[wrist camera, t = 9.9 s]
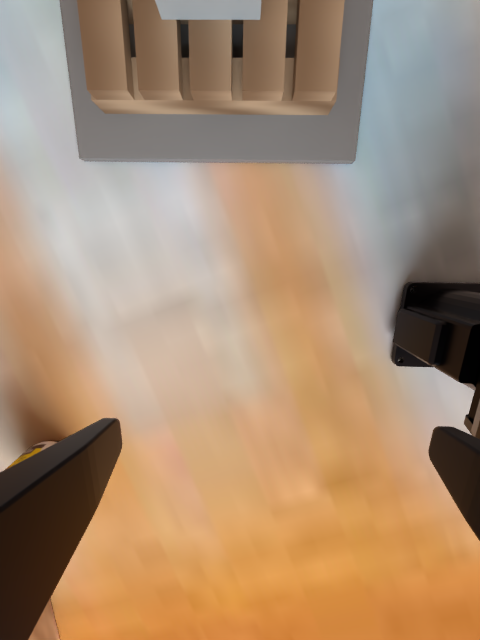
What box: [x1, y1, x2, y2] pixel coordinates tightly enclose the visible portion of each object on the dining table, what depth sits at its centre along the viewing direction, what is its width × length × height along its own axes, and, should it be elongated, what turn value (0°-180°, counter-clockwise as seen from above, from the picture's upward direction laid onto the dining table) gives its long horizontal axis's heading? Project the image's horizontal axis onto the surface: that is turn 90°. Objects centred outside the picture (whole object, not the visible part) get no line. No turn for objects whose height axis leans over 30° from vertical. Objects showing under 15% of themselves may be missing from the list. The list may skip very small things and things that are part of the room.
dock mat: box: [60, 0, 373, 164], centre depth 15 cm, size 18×14×1 cm
